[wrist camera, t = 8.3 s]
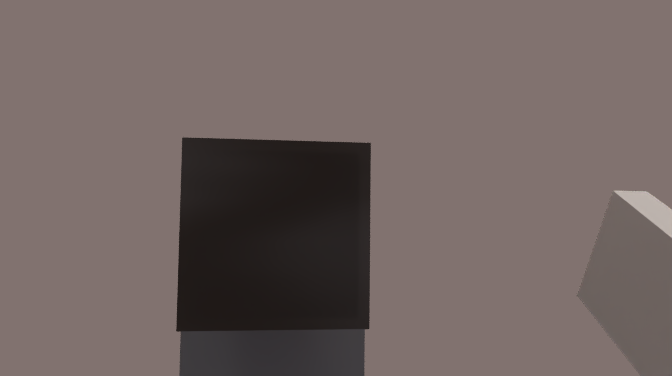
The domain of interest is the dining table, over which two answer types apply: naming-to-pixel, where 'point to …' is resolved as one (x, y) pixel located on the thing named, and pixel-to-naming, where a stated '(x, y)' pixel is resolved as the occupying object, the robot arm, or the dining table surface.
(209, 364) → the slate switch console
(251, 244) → the wooden bar
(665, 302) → the robot arm
